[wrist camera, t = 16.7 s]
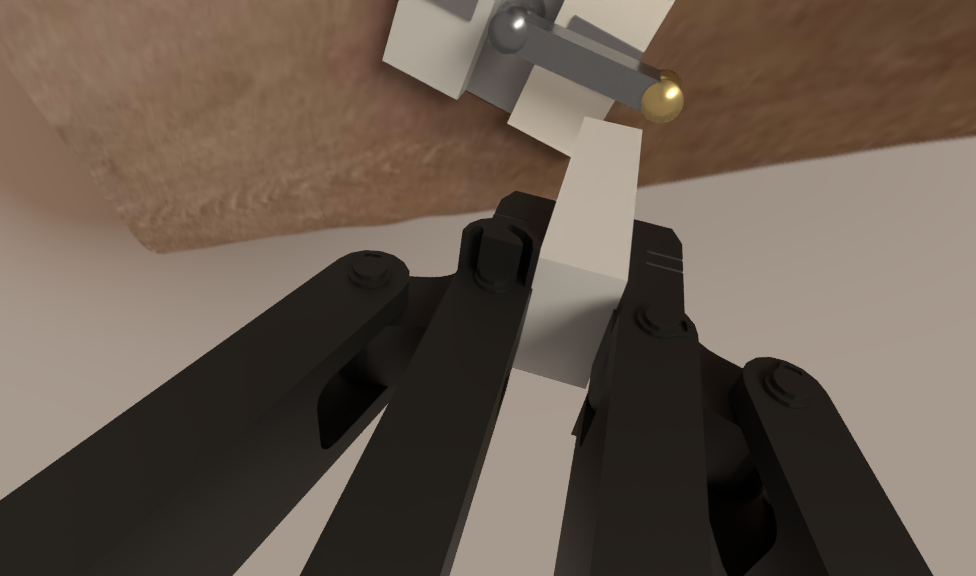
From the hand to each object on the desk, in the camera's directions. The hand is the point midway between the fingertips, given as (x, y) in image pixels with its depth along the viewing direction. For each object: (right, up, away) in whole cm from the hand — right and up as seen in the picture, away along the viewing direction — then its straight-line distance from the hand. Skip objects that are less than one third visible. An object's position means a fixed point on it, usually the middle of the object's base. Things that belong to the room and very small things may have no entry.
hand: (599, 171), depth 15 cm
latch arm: (+4, +14, +22) cm, 26 cm away
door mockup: (0, +16, +22) cm, 27 cm away
